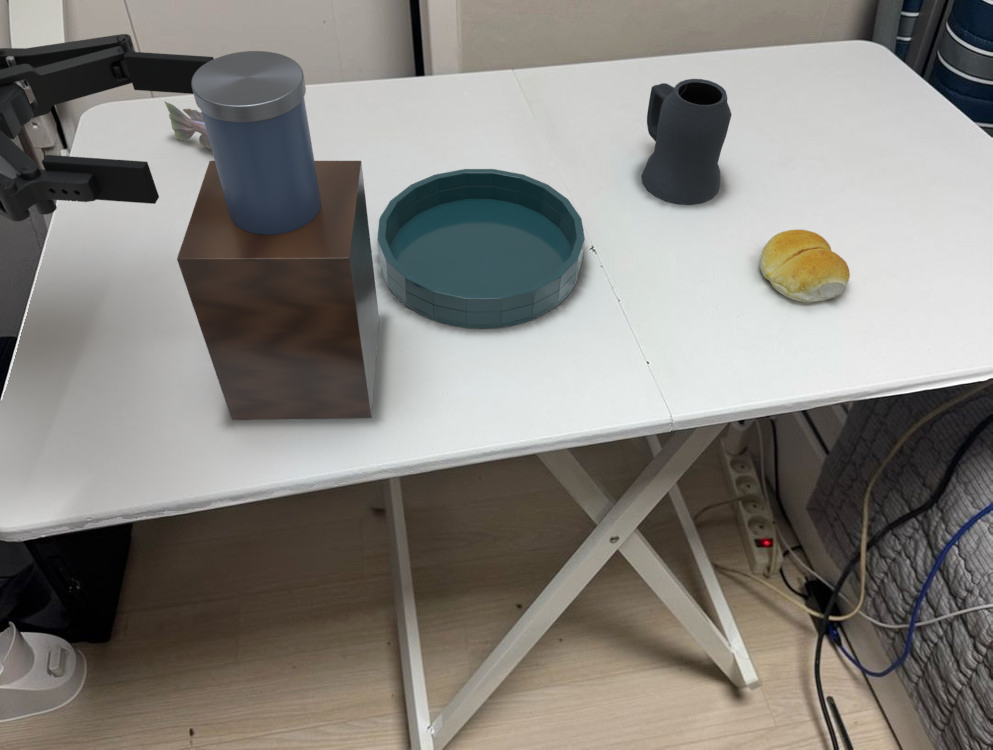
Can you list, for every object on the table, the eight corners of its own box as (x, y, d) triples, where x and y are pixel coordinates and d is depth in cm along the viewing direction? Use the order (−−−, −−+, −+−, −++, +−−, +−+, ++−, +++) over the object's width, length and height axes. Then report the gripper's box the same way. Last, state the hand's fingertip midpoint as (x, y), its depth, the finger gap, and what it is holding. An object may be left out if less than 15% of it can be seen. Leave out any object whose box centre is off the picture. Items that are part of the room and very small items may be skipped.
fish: (183, 132, 100) (171, 95, 97) (276, 165, 96) (269, 127, 93) (167, 143, 99) (155, 105, 95) (262, 177, 95) (254, 139, 91)
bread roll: (810, 241, 90) (821, 211, 87) (856, 296, 84) (870, 266, 81) (741, 254, 88) (751, 224, 85) (783, 311, 82) (795, 280, 79)
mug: (735, 193, 95) (761, 104, 87) (668, 212, 92) (688, 122, 84) (678, 139, 102) (696, 52, 94) (614, 155, 99) (627, 67, 91)
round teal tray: (375, 330, 79) (371, 299, 76) (386, 199, 93) (383, 168, 90) (590, 328, 80) (595, 297, 77) (569, 198, 94) (573, 168, 91)
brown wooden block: (231, 419, 71) (176, 259, 58) (253, 321, 79) (209, 160, 66) (371, 417, 72) (349, 258, 58) (379, 320, 80) (361, 160, 66)
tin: (217, 237, 60) (180, 106, 52) (234, 178, 64) (202, 50, 57) (318, 236, 60) (296, 106, 52) (328, 178, 65) (309, 50, 57)
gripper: (-3, 68, 70) (246, 84, 69) (-191, 262, 53) (136, 285, 52) (-44, -24, 64) (227, -7, 63) (-268, 161, 47) (96, 186, 47)
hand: (186, 125), depth 58 cm, fingers open, 13 cm apart
